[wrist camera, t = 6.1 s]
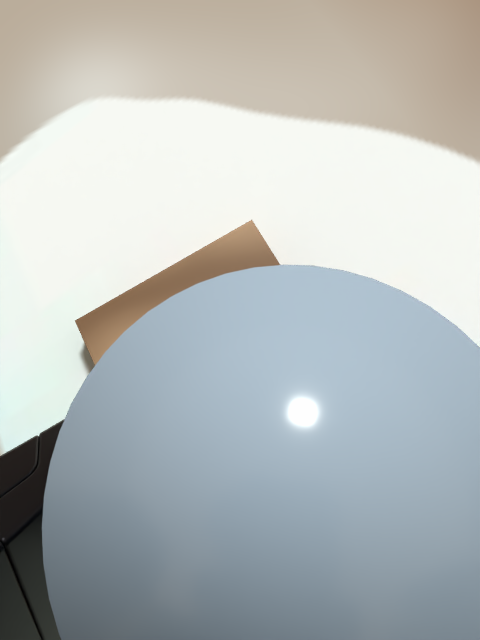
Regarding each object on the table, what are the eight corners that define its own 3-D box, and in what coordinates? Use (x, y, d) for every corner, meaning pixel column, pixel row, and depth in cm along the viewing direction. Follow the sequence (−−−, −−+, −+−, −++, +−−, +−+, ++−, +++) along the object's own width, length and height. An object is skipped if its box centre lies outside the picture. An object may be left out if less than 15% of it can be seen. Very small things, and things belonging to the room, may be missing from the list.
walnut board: (468, 573, 19) (481, 584, 17) (256, 695, 19) (252, 716, 17) (255, 233, 24) (251, 219, 23) (88, 328, 24) (74, 320, 23)
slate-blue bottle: (396, 511, 15) (1202, 1110, 1) (253, 545, 15) (-151, 1289, 2) (351, 368, 16) (558, 7, 3) (221, 402, 17) (-143, 224, 3)
